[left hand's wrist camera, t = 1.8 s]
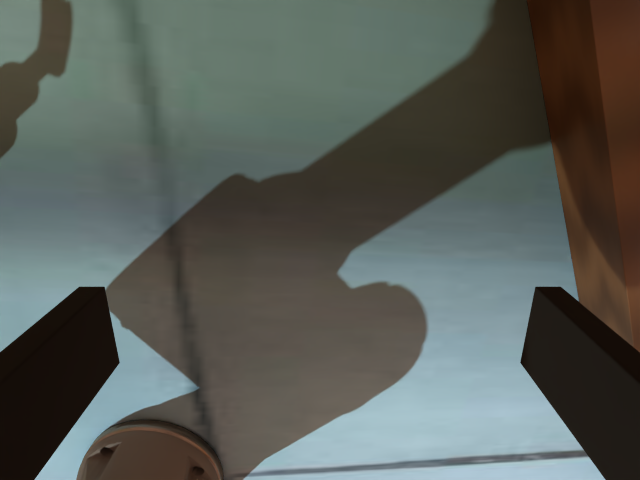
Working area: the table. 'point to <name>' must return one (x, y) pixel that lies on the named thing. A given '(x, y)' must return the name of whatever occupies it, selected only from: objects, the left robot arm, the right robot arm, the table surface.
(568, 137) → the bar
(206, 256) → the table surface
